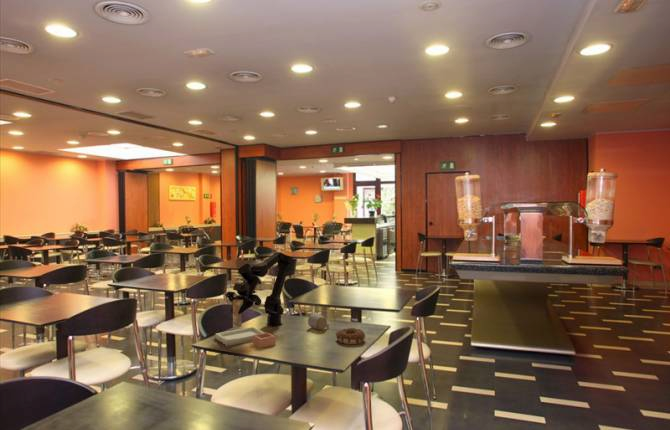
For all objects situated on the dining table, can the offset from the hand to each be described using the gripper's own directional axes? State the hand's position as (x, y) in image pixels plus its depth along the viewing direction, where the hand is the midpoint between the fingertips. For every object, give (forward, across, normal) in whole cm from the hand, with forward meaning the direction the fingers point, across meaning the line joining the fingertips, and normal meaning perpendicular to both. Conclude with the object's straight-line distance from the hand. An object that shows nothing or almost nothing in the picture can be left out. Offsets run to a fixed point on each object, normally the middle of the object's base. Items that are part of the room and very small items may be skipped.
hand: (235, 313), depth 200 cm
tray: (+6, 0, +12) cm, 14 cm away
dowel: (+4, 0, +6) cm, 7 cm away
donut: (-9, +48, +28) cm, 57 cm away
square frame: (+8, +15, +11) cm, 20 cm away
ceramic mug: (-17, +25, +36) cm, 47 cm away
